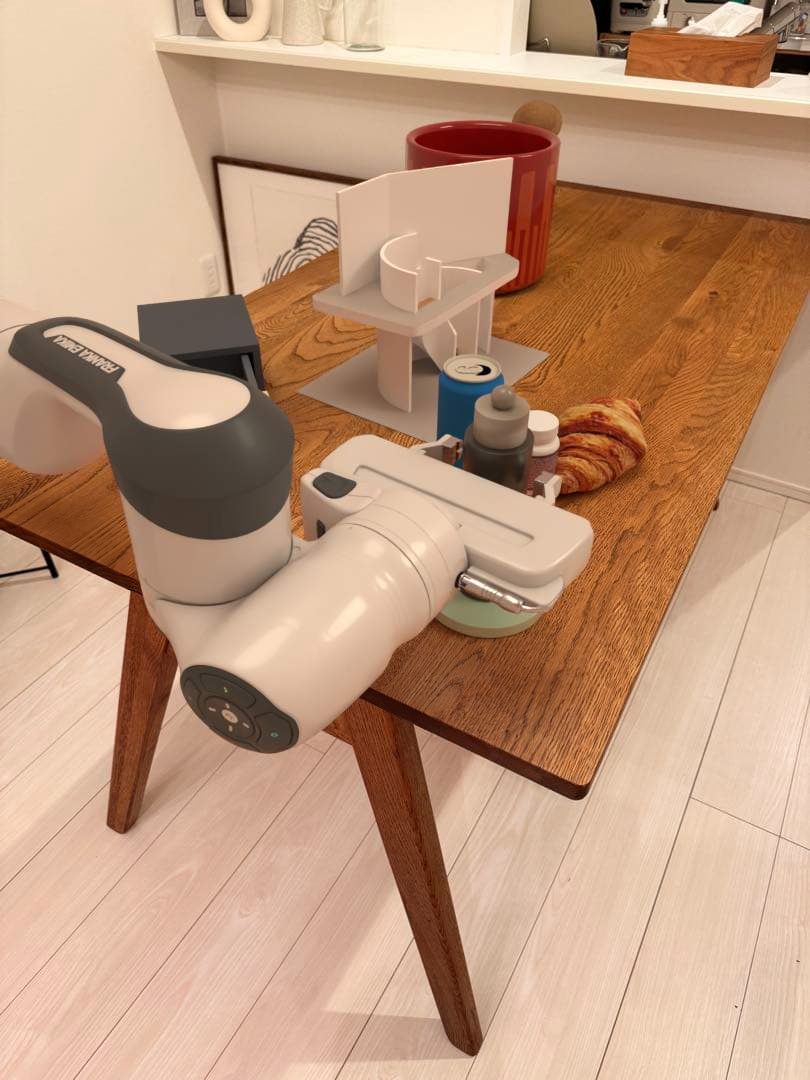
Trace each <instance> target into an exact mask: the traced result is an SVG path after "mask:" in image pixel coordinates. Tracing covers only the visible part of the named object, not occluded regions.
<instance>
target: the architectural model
mask: <svg viewBox="0 0 810 1080" xmlns="http://www.w3.org/2000/svg"><path fill="white" fill-rule="evenodd" d="M512 168H513V158H511V157H509V158H501V159H494V160H486V161H479V162H471V163H463V164H456V165H448V166H440V167H433V168H425V169H418V170H410V171H405V170H402V171H396V172H387V173H384V174H381V175H379V176H376V177H373V178H371V179H368V180H365V181H363V182H362V181H361V182H359V183H357V184H354V185H351V186H349V187H346V188H343V189H341V190H338V191H335V206H336V207H335V208H336V224H337V226H336V227H337V228H336V229H337V246H338V247H337V248H338V263H339V264H338V267H339V281H338V282H336V283H334V284H332V285H330V286H328V287H326V288H324V289H322V290H320V291H317V292H316V293H314V294H313V295H312V296H311V298H312V299H311V300H312V308H313V310H315V311H318V312H321V313H324V314H327V315H330V316H333V317H338V318H340V319H343V320H348V321H351V322H355V323H358V324H363V325H366V326H369V327H373V328H376V343H374V344H372V345H370V346H369V347H367V348H366V349H364V350H362V351H360V352H359V353H357V354H355V355H354V356H352V357H350V358H349V359H347V360H346V361H343V362H342V363H341V364H339V365H337V366H336V367H333V368H332V369H330V370H329V371H327V372H326V373H324V374H322V375H321V376H319V377H317V378H316V379H313V380H312V381H311V382H309V383H307V384H305V385H304V386H301V388H298V389H297V390H296V391H295V393H297V394H300V395H303V396H306V397H308V398H310V399H313V400H316V401H318V402H321V403H323V404H327V405H329V406H332V407H335V408H337V409H339V410H342V411H345V412H347V413H349V414H353V415H355V416H357V417H360V418H363V419H366V420H368V421H371V422H373V423H376V424H378V425H381V426H383V427H386V428H389V429H391V430H394V431H396V432H399V433H402V434H404V435H407V436H410V437H412V438H414V439H417V440H420V441H423V442H424V443H430V442H436V440H437V413H438V386H439V375H440V373H441V371H442V370H443V369H444V363H445V362H446V361H447V360H448V359H450V358H452V357H455V356H458V355H465V354H476V355H483V356H486V357H489V358H492V359H494V360H495V361H497V362H498V363H499V364H500V366H501V373H502V375H503V377H504V385H508V386H510V387H512V386H514V385H515V384H516V383H518V382H519V381H521V379H522V378H524V377H525V376H526V375H527V374H528V373H530V372H531V371H532V370H534V369H535V368H537V366H539V365H540V364H541V363H542V362H544V361H545V360H546V359H547V358H548V357H549V356H551V355H552V353H549V352H546V351H543V350H540V349H536V348H532V347H529V346H527V345H523V344H519V343H516V342H512V341H510V340H506V339H503V338H499V337H496V336H492V330H493V329H492V328H493V318H494V304H495V295H494V294H495V290H496V289H498V288H499V287H501V286H502V285H504V284H506V283H507V282H509V281H510V280H512V279H514V278H515V277H516V276H517V274H518V270H519V261H518V260H517V259H515V258H514V257H512V256H510V255H509V254H507V253H505V247H506V236H507V225H508V213H509V202H510V191H511V179H512Z"/></svg>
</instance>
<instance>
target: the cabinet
mask: <svg viewBox="0 0 810 1080" xmlns="http://www.w3.org/2000/svg"><path fill="white" fill-rule="evenodd" d="M136 313H137V325H138V338H139V340H138V341H140V342H142V343H144V344H146V345H148V346H150V347H152V348H154V349H156V350H158V351H160V352H162V353H164V354H166V355H169V356H171V357H173V358H175V359H177V360H179V361H185V360H193V359H201V358H209V357H217V356H225V355H233V354H241V353H247V354H248V357H249V360H250V364H251V367H252V370H253V373H254V376H255V380H256V383H257V386H258V389H259V390H261V391H266V387H265V380H264V379H265V378H264V371H263V370H264V369H263V363H262V356H261V355H262V354H261V347H260V342H259V340H258V336H257V333H256V331H255V327H254V324H253V322H252V319H251V316H250V314H249V310H248V307H247V305H246V301H245V299H244V296H243V294H242V293H238V294H230V295H229V294H228V295H219V296H211V297H199V298H191V299H182V300H181V299H180V300H172V301H164V302H153V303H145V304H137V305H136Z"/></svg>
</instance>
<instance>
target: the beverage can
mask: <svg viewBox="0 0 810 1080" xmlns="http://www.w3.org/2000/svg"><path fill="white" fill-rule="evenodd" d="M499 385H504V377H503V375H502V373H501V366H500V364H499V363H498V362H497V361H495V360H494V359H492V358H489V357H486V356H483V355H476V354H465V355H458V356H455V357H452V358H450V359H448V360H447V361H446V362H445V363H444V369H443V370H442V371H441V373H440V375H439V386H438V413H437V440H436V442H437V441H438V440H439V439H441V438H442V437H443V436H444V435H446V434H448V435H451V436H454V437H456V438H459V439H461V440H463V446H461V447H462V449H463V453H462V456H461V458H460V459H459V460H456V461H455V463H454V464H453V465H452V466H454V467H456V468H459V469H461V470H462V469H463V454H464V439H465V431H466V429H467V428H468V426H470V425H471V424H472V423H474V411H475V403H476V401H477V400H478V399H479V398H480V397H482V396H484V395H486V394H490V393H492V391H493V390H494V389H495V388H496V387H497V386H499Z"/></svg>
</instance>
